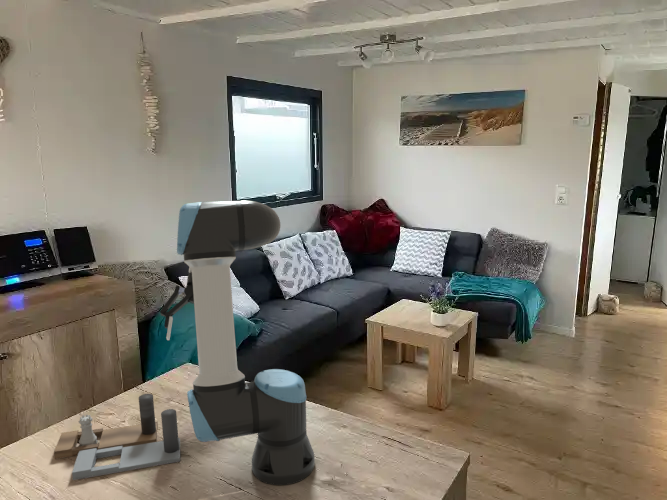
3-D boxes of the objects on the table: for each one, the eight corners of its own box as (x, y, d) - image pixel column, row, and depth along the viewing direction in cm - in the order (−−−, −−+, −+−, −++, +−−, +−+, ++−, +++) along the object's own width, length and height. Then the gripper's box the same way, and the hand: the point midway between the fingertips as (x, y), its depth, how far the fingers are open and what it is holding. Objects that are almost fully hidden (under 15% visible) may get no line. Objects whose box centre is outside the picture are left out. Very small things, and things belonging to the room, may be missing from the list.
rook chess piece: (101, 440, 135) (98, 412, 133) (92, 450, 130) (88, 422, 129) (85, 439, 135) (82, 412, 133) (75, 449, 131) (71, 421, 129)
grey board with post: (180, 461, 125) (176, 420, 123) (72, 480, 118) (67, 437, 116) (180, 441, 133) (177, 402, 131) (80, 458, 127) (75, 417, 124)
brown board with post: (156, 442, 133) (152, 403, 131) (54, 459, 126) (49, 418, 124) (157, 424, 141) (154, 388, 139) (62, 439, 135) (57, 401, 133)
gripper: (239, 282, 166) (233, 346, 157) (160, 274, 161) (149, 340, 152) (241, 274, 159) (234, 340, 150) (158, 266, 154) (146, 334, 145)
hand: (191, 340), depth 151 cm, fingers open, 13 cm apart
